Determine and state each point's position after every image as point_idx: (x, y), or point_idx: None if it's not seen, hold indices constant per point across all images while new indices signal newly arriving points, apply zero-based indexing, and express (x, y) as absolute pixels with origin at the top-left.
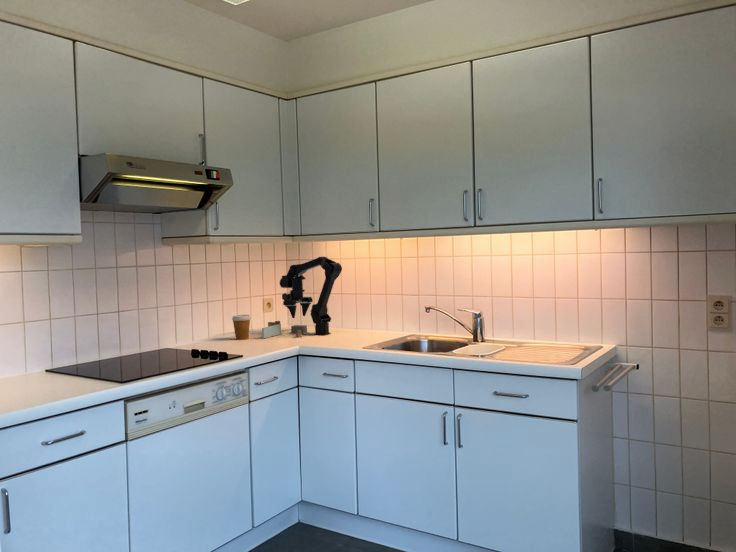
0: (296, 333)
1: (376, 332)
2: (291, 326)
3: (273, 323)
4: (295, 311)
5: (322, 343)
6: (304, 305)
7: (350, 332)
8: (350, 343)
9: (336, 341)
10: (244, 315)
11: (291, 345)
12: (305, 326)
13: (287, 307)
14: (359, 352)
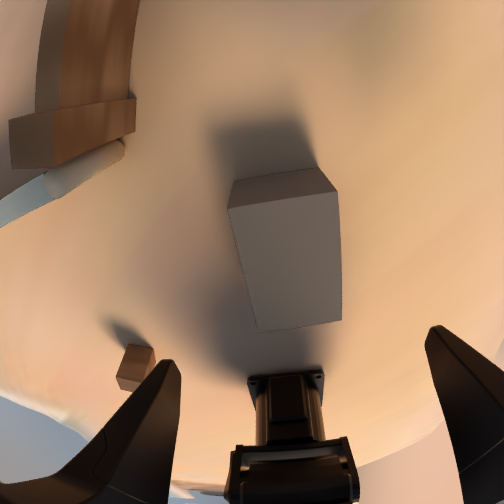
0: (122, 366)
1: (384, 445)
2: (228, 209)
3: (43, 60)
4: (165, 475)
5: None
6: (494, 470)
7: (377, 417)
8: (188, 470)
9: (185, 455)
10: None
11: (52, 400)
12: (317, 319)
13: (32, 483)
14: None
